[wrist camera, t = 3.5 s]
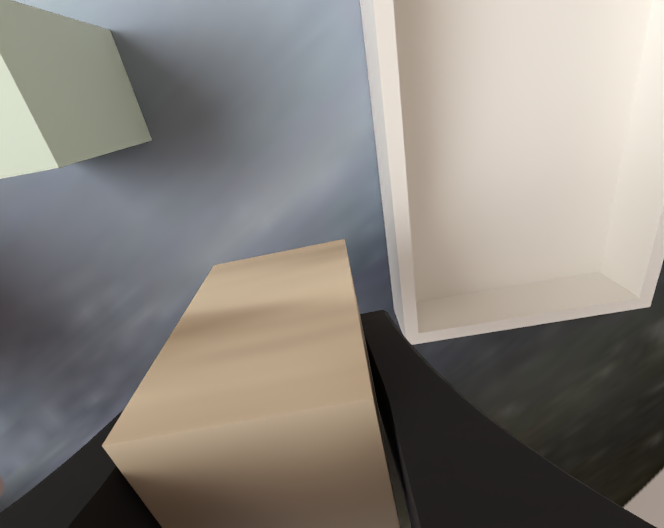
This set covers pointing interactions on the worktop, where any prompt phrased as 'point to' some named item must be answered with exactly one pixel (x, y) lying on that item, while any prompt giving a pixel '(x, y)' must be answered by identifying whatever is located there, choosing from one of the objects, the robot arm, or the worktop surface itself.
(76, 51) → the sage block
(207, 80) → the worktop surface
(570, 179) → the serving tray
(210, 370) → the maple block
